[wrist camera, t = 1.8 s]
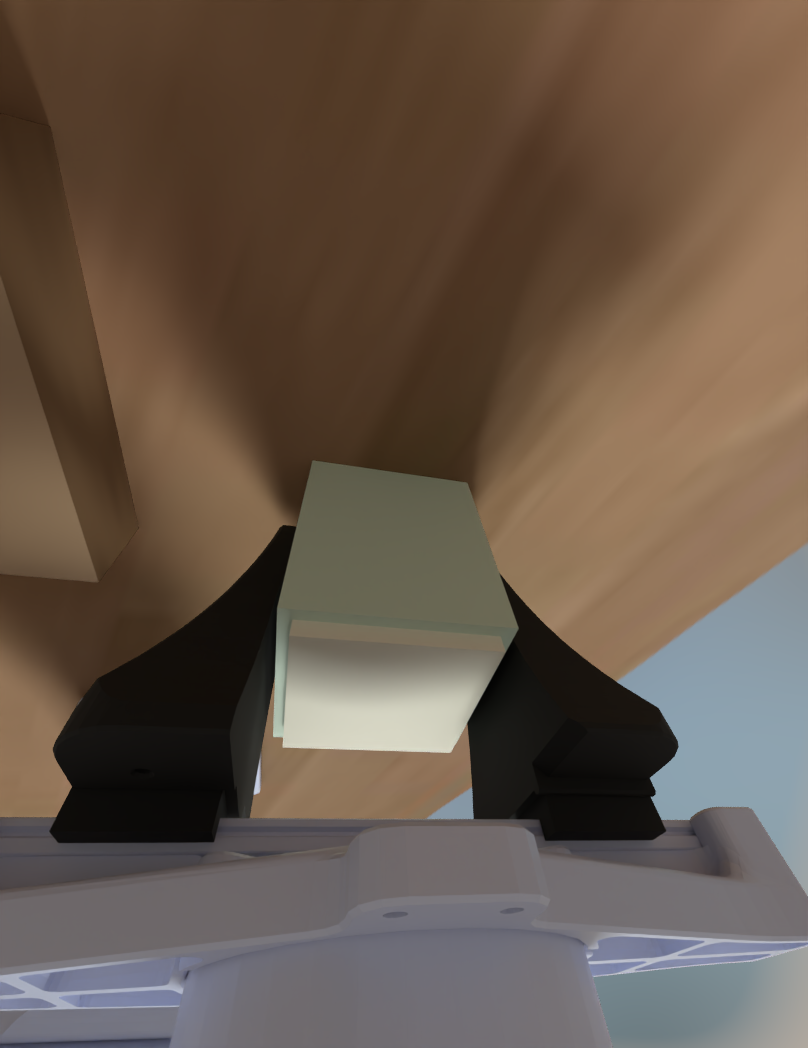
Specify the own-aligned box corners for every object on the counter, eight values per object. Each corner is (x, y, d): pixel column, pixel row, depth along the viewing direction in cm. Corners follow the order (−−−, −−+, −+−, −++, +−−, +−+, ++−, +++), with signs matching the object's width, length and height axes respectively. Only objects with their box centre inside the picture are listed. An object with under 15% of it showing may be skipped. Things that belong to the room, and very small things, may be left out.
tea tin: (431, 589, 17) (458, 758, 11) (303, 576, 16) (270, 752, 11) (467, 482, 14) (524, 644, 9) (312, 460, 13) (273, 624, 8)
